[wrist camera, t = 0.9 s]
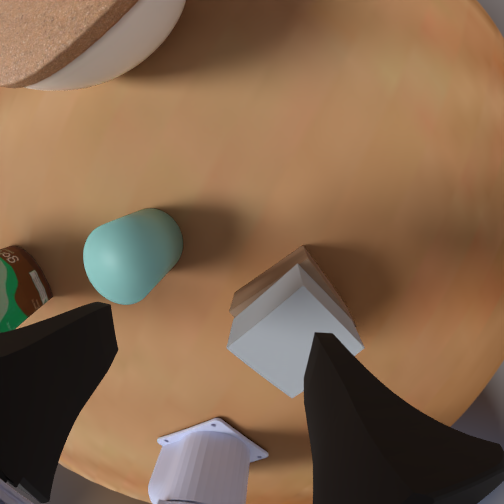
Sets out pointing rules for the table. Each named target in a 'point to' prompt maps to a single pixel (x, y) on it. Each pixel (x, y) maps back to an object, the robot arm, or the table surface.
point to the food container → (20, 287)
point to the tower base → (273, 274)
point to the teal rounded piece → (132, 254)
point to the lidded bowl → (79, 40)
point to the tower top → (288, 329)
